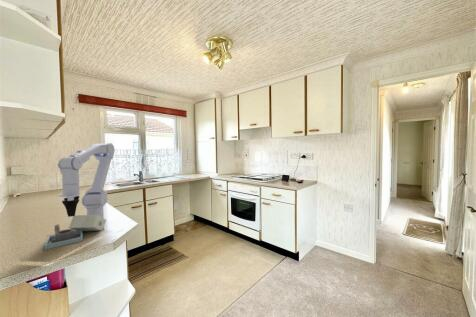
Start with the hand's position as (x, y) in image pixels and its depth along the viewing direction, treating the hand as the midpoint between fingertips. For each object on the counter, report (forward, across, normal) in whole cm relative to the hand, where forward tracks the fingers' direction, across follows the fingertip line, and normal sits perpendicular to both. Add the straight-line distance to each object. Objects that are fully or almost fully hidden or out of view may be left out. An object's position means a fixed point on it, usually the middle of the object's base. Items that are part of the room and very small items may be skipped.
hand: (71, 214), depth 87 cm
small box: (+5, +5, +10) cm, 13 cm away
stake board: (+9, -2, -4) cm, 10 cm away
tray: (+9, +8, -2) cm, 13 cm away
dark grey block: (+9, +8, -2) cm, 12 cm away
